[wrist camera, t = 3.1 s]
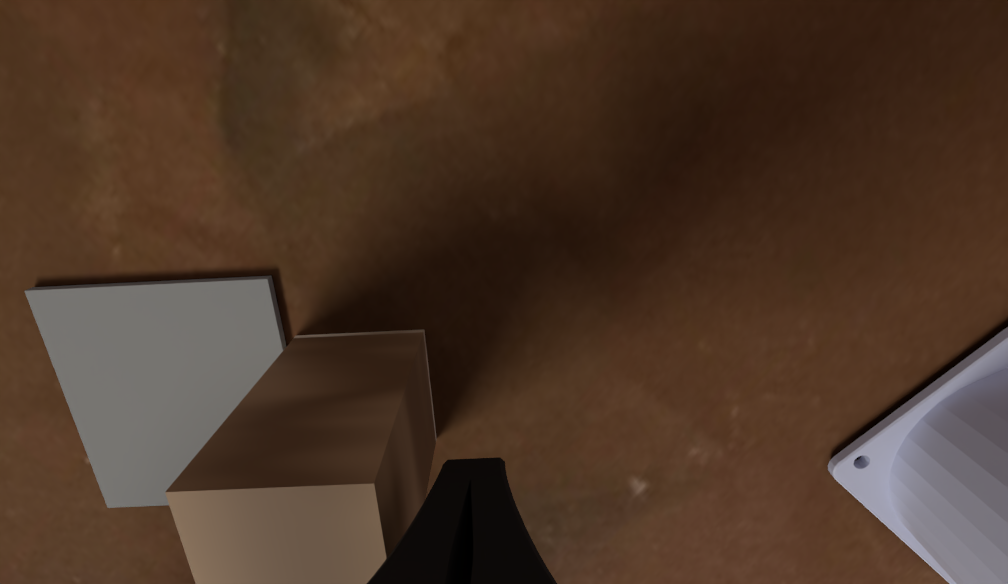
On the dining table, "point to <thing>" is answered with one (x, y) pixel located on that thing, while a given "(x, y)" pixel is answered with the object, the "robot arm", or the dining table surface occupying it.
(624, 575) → the dining table surface
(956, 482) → the robot arm
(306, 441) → the walnut block
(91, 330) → the slate mat
